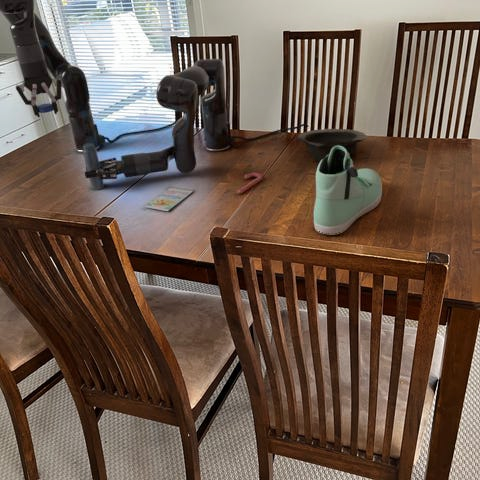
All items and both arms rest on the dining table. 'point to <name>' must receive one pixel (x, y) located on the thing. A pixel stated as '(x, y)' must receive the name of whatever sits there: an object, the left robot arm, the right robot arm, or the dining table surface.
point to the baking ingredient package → (168, 199)
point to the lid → (45, 108)
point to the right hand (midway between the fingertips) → (86, 172)
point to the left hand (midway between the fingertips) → (47, 114)
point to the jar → (92, 165)
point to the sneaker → (343, 192)
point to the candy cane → (250, 182)
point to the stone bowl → (330, 141)
